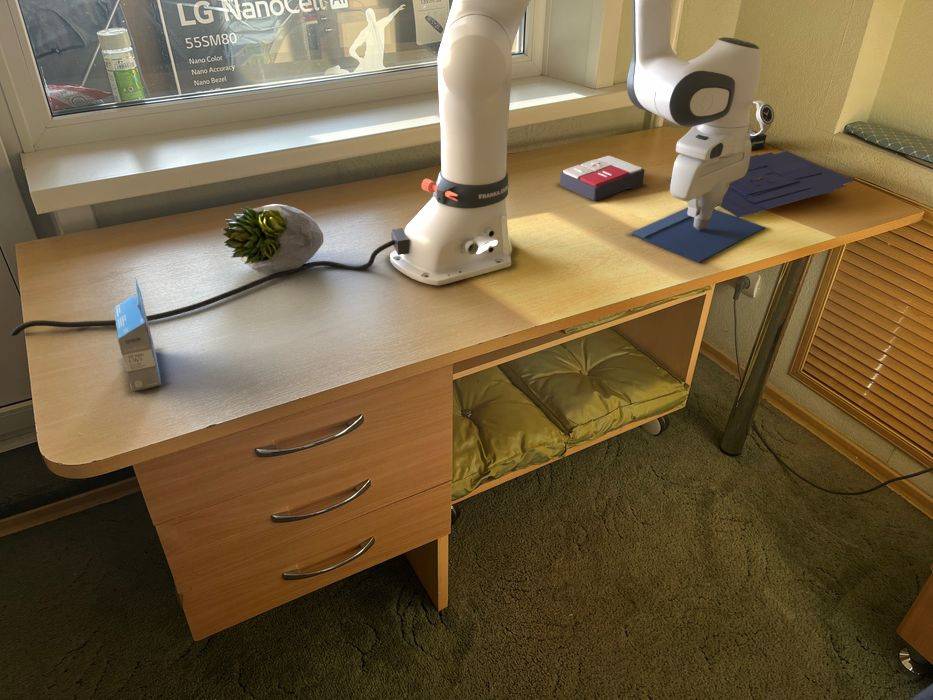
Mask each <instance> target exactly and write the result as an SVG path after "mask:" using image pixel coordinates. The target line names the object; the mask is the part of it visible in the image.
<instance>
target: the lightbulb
mask: <svg viewBox="0 0 933 700" xmlns="http://www.w3.org/2000/svg"><path fill="white" fill-rule="evenodd" d="M724 195H725V184H724V182H723V181H719V182H717V183H716V185H715V186H714V187H713V189H712V190H711V191H710V192H708V193H706V194H704V195H701V199H700V200H698V202H699V206H700V207H701V211H700V214H699V215H698V216H696V217H695V218H694V225H693V226H694V227H695V228H696V229H697V230H699V231H701V230H703V229H706V228H707V226H708V222H709V219H710V218H711V215H712V212H713V210H714V209H715V208H717V207H718V206H717V205H718V204H719V202H720V201H721V200H722V199H723V197H724ZM716 206H717V207H716ZM715 210H716V209H715Z"/></svg>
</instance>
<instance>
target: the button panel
mask: <svg viewBox="0 0 933 700" xmlns="http://www.w3.org/2000/svg"><path fill="white" fill-rule="evenodd" d="M645 171H646V170H645V169H644V168H643V167H641V166H639V165H636V164H633V163H630V162H627V161H625V160H622V159H619V158H617V157H614V156H612V155H605V156H602V157H599V158H597V159H596V158H594V159H592V160H588V161H585V162H583V163H581V164H577V165H574V166H571V167H568V168H566V169H563V171H561V172H559V186H560V187H562V188H564V189H567V190H569V191H571V192H573V193H575V194H578V195H580V196H582V197H584V198H587V199H590V200H592V201H595V202H597V201H599V200H601V199H604V198H607V197H609V196H612V195H614V194H617V193H620V192H622V191H625V190H628V189H630V190H634V189H636V188H639V187H642V186H643V185H644V178H645Z"/></svg>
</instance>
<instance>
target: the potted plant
mask: <svg viewBox="0 0 933 700" xmlns="http://www.w3.org/2000/svg"><path fill="white" fill-rule="evenodd" d="M243 206H244V208H245V209H244V208H242V207H239V209H240V211H241V212H242V214H240V213H233V214H232V216H234V219H233V218H232V219H226V218H224V221H225V222H226V224H227V226H228V227H224V228H222V231H225V232H223V233H222V235H223V236H225V237H226V238H227V239H226V240H225V241H224V242H223V243H224V246H226V247H227V248H230V249H234V250H232V251H231V253H232V256H230V258H231V259H232V258H240V261H242V262H243V264H244V265H247V266H249V267H250V269H252V270H255V271H256V272H258V273H260V274H263V275H265V276H269V275H272V274H274V273H278V272H282V271H287V270H292V269H296V268H300V267H301V266H302V265H303V264H305V263H308V261H310V260H311V259H312V258H313V257H314V256H315V255H316V254H317V252H318V251H319V250H320V248H321V247H322V246H323V244H324V233H323V231H322V229H321V228H320V227H319V225H318V223H317V222H316V221H315V220H314V219H313V218H312V216H310V215H309V214H307V213H306V212H304V211H302V210H301V209H299V208H297V207H293V206H290V205H285V204H278V203H272V204H268V205H262V206H258V207H254V208H249V207H248V206H245V205H243Z"/></svg>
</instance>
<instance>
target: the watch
mask: <svg viewBox="0 0 933 700" xmlns="http://www.w3.org/2000/svg"><path fill="white" fill-rule="evenodd" d="M754 104H756V105H755V106H756V113H755V116H756V117H755V118H756V120H757V122H758V124H759V128H760V130H759V131H756V130H752V129H751V122H750V123H749V128H748V131H749V133H750V139H749V140H750V141H751V145H752V147H751V151H755V150H759V149H762V148H764V147H765V143H766V140H767V134H765V133H766V132H768V130H769V129H770V128H771V126H772V123H773V122H774V120H775V112H774V109H773V107H772V106H771V105H770V104H768V102H765V101H764V100H754V101H753V103H752V105H754Z"/></svg>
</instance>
